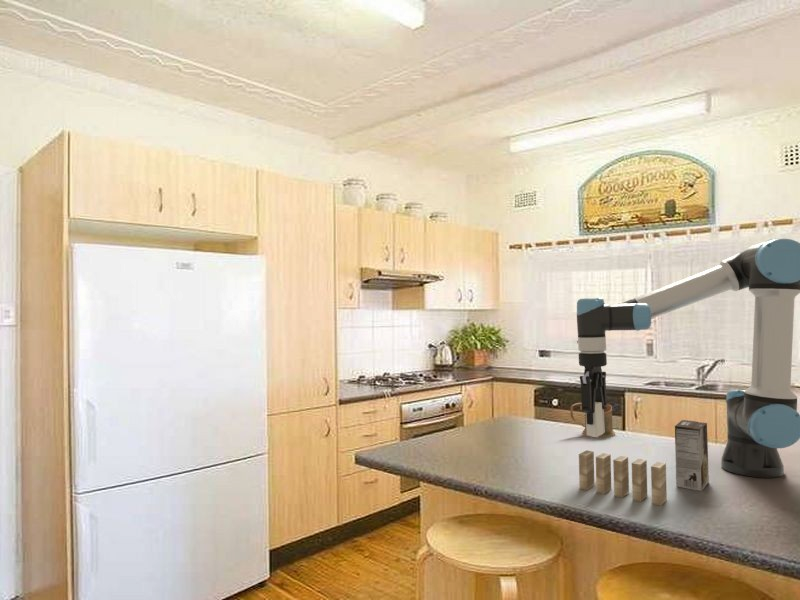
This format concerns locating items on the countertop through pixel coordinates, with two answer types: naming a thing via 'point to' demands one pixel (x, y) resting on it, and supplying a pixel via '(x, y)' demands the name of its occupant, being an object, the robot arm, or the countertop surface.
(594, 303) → the robot arm
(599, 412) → the domino
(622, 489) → the domino
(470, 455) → the countertop surface
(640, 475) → the domino
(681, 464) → the coffee box
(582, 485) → the domino
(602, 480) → the domino
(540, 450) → the countertop surface
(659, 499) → the domino
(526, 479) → the countertop surface
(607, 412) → the mug
